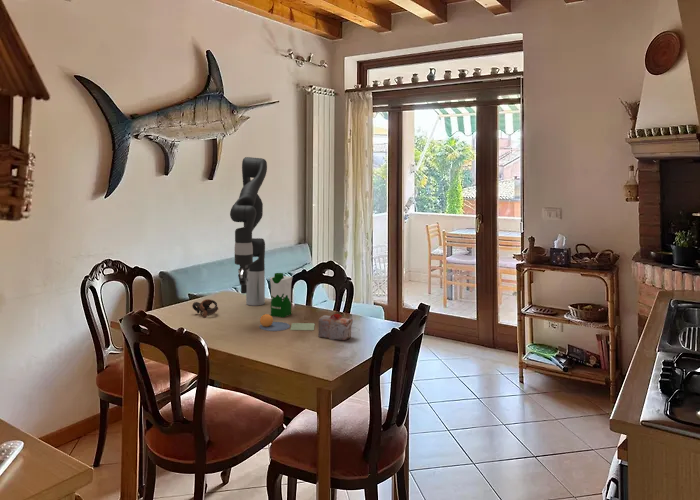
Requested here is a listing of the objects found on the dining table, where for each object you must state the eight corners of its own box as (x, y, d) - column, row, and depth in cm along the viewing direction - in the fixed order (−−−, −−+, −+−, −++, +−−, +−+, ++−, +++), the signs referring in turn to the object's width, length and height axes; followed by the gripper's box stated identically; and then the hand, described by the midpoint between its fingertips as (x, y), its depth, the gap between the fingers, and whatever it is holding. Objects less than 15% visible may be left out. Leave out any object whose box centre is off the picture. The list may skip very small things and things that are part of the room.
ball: (276, 319, 223) (266, 328, 223) (267, 310, 223) (258, 319, 223) (275, 321, 218) (265, 330, 218) (266, 312, 218) (256, 321, 217)
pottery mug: (218, 312, 244) (221, 300, 239) (213, 326, 236) (215, 313, 231) (193, 306, 242) (195, 293, 238) (187, 320, 234) (189, 306, 230)
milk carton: (267, 316, 238) (267, 273, 235) (278, 311, 246) (278, 270, 243) (284, 318, 234) (284, 275, 231) (294, 313, 242) (294, 272, 239)
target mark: (261, 322, 227) (261, 321, 227) (291, 322, 228) (291, 322, 228) (257, 330, 214) (257, 330, 214) (288, 331, 215) (288, 330, 215)
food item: (354, 337, 209) (355, 313, 208) (347, 343, 202) (347, 318, 200) (324, 333, 214) (324, 309, 213) (315, 338, 207) (316, 314, 205)
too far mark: (291, 323, 226) (291, 323, 226) (314, 323, 227) (314, 323, 227) (290, 330, 216) (290, 329, 216) (313, 330, 217) (313, 329, 217)
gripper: (250, 255, 210) (250, 296, 212) (254, 250, 223) (255, 289, 225) (231, 255, 209) (232, 296, 212) (237, 250, 223) (237, 289, 225)
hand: (243, 293), depth 219 cm, fingers closed
